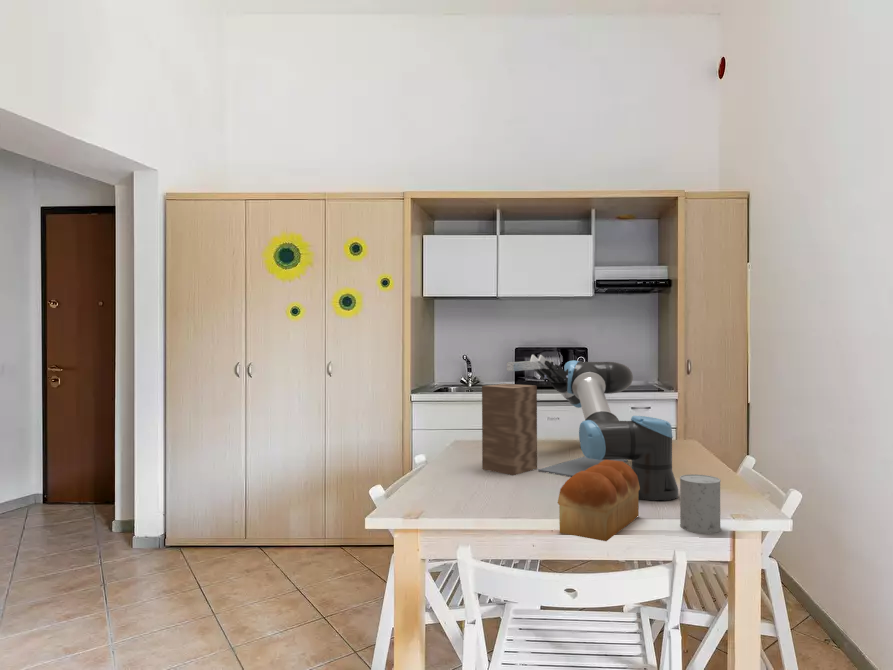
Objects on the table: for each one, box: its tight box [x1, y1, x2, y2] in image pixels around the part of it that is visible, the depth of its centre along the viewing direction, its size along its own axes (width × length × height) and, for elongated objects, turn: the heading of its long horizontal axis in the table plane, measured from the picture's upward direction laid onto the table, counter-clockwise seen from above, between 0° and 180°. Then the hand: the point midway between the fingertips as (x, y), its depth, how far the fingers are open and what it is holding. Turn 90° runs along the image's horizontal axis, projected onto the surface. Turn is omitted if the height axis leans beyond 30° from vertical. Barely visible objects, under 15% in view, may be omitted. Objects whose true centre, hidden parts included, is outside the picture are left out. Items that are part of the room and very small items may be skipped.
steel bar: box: [506, 359, 554, 372], centre depth 241 cm, size 26×3×3 cm, turn 137°
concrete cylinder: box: [679, 473, 722, 535], centre depth 159 cm, size 10×10×12 cm
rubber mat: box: [537, 455, 629, 477], centre depth 232 cm, size 36×16×1 cm, turn 137°
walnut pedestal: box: [481, 383, 538, 476], centre depth 228 cm, size 14×14×30 cm
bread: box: [557, 460, 640, 542], centre depth 162 cm, size 25×12×15 cm, turn 146°
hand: (535, 357), depth 244 cm, fingers closed on steel bar, 3 cm apart
